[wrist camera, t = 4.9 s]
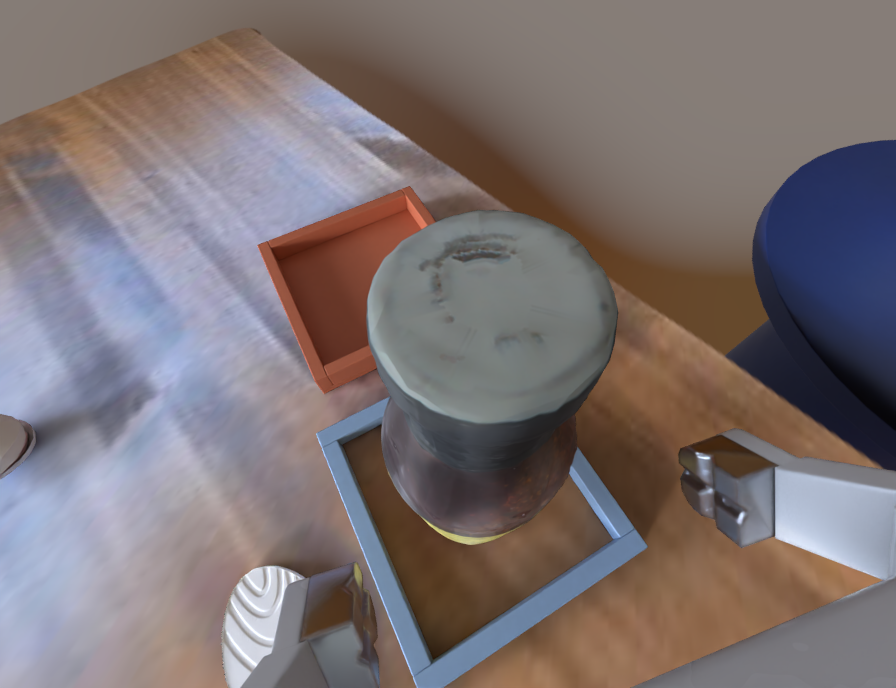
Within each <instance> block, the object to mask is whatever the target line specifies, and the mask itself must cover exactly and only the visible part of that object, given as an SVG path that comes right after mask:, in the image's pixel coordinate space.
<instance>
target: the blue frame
mask: <svg viewBox="0 0 896 688" xmlns="http://www.w3.org/2000/svg"><path fill="white" fill-rule="evenodd" d="M389 399H390V397H388V398H386V399H384V400H382V401H380V402H378V403H376V404H374V405H372V406H370V407H368V408H366V409H364V410H362V411H360V412H358V413H356V414H354V415H352V416H350V417H348V418H346V419H344V420H342V421H340V422H338V423H336V424H334V425H332V426H330V427H328V428H326V429H324V430H322V431H320V432H318V433H316V435H317V438H318V440H319V443H320V445H321V447H322V450H323V453H324V455H325V458H326V460H327V463H328V465H329V468H330V470H331V473H332V475H333V478H334V480H335V483H336V485H337V488H338V490H339V493H340V496H341V498H342V501H343V503H344V506H345V508H346V511H347V513H348V516H349V518H350V521H351V523H352V526H353V528H354V531H355V533H356V536H357V538H358V541H359V543H360V546H361V548H362V551H363V553H364V556H365V558H366V561H367V563H368V566H369V568H370V571H371V573H372V576H373V578H374V581H375V583H376V586H377V588H378V591H379V593H380V596H381V598H382V601H383V603H384V606H385V608H386V611H387V613H388V616H389V618H390V621H391V624H392V626H393V629H394V631H395V634H396V636H397V639H398V641H399V644H400V646H401V649H402V651H403V654H404V656H405V659H406V661H407V664H408V666H409V669H410V671H411V674H412V675H413V676H414V677H413V679H414V681H415V684H416V686H417V688H443V687H445V686H446V685H448V684H449V683H451V682H452V681H453V680H455V679H456V678H458V677H459V676H461V675H462V674H464V673H465V672H467V671H468V670H469V669H471V668H472V667H474V666H475V665H477V664H478V663H480V662H481V661H483V660H484V659H486V658H487V657H488V656H490V655H491V654H493V653H494V652H496V651H497V650H499V649H500V648H502V647H503V646H504V645H506V644H507V643H509V642H510V641H512V640H513V639H515V638H516V637H518V636H519V635H521V634H522V633H523V632H525V631H526V630H528V629H529V628H531V627H532V626H534V625H535V624H537V623H538V622H540V621H541V620H542V619H544V618H545V617H547V616H548V615H550V614H551V613H553V612H554V611H556V610H557V609H558V608H560V607H561V606H563V605H564V604H566V603H567V602H569V601H570V600H572V599H573V598H575V597H576V596H577V595H579V594H580V593H582V592H583V591H585V590H586V589H588V588H589V587H591V586H592V585H593V584H595V583H596V582H598V581H599V580H601V579H602V578H604V577H605V576H607V575H608V574H610V573H611V572H612V571H614V570H615V569H617V568H618V567H620V566H621V565H623V564H624V563H626V562H627V561H628V560H630V559H631V558H633V557H634V556H636V555H637V554H639V553H640V552H642V551H643V550H645V549H646V548H647V547H648V546H647V544H646V543H645V542H644V540H643V539H642V537H641V536H640V534H639V533H638V532H637V530H636V529H634V526H633V525H632V523H631V522H630V520H629V519H628V518H627V516H626V515H625V513H624V512H623V511H622V509H621V508H620V506H619V505H618V503H617V502H616V501H615V499H614V498H613V496H612V495H611V493H610V492H609V491H608V489H607V488H606V486H605V485H604V484H603V482H602V481H601V479H600V478H599V476H598V475H597V474H596V472H595V471H594V469H593V468H592V466H591V465H590V464H589V462H588V461H587V459H586V458H585V457H584V455H583V454H582V452H581V451H580V449H579V448H578V447H577V450H576V453H575V455H574V459H573V463H572V465H571V467H570V472H569V474H570V476H571V477H572V479H573V480H574V482H575V483H576V485H577V486H578V488H579V489H580V491H581V492H582V494H583V495H584V497H585V498H586V500H587V501H588V503H589V504H590V506H591V507H592V509H593V510H594V512H595V513H596V515H597V516H598V518H599V519H600V521H601V522H602V523H603V525H604V526H605V528H606V529H607V531H608V532H609V534H610V535H611V537H612V538H613V539H614V540H613V541H611V542H610V543H608V544H607V545H605V546H604V547H602V548H601V549H599V550H598V551H596V552H595V553H593V554H592V555H590V556H589V557H587V558H586V559H584V560H583V561H581V562H580V563H578V564H577V565H575V566H574V567H572V568H571V569H569V570H568V571H566V572H564V573H563V574H561V575H560V576H558V577H557V578H555V579H554V580H552V581H551V582H549V583H548V584H546V585H545V586H543V587H542V588H540V589H539V590H537V591H536V592H534V593H533V594H531V595H530V596H528V597H527V598H525V599H524V600H522V601H521V602H519V603H518V604H516V605H515V606H513V607H512V608H510V609H509V610H507V611H506V612H504V613H503V614H501V615H500V616H498V617H497V618H495V619H494V620H492V621H491V622H489V623H488V624H486V625H485V626H483V627H482V628H480V629H479V630H477V631H476V632H474V633H473V634H471V635H470V636H468V637H467V638H465V639H464V640H462V641H461V642H459V643H458V644H456V645H455V646H453V647H452V648H450V649H449V650H447V651H446V652H444V653H443V654H441V655H440V656H438V657H437V658H435V659H434V660H433V658H432V656H431V653H430V651H429V649H428V646H427V644H426V641H425V639H424V637H423V634H422V632H421V630H420V627H419V625H418V623H417V620H416V618H415V616H414V613H413V611H412V609H411V606H410V604H409V601H408V599H407V597H406V594H405V592H404V590H403V587H402V585H401V583H400V580H399V578H398V576H397V573H396V571H395V568H394V566H393V564H392V561H391V559H390V557H389V554H388V552H387V550H386V547H385V545H384V543H383V540H382V538H381V535H380V533H379V531H378V528H377V526H376V524H375V521H374V519H373V517H372V514H371V512H370V510H369V507H368V505H367V502H366V500H365V498H364V495H363V493H362V491H361V488H360V486H359V484H358V481H357V479H356V477H355V474H354V472H353V469H352V467H351V465H350V462H349V460H348V458H347V455H346V453H345V451H344V448H343V446H342V444H344V443H346V442H348V441H350V440H352V439H354V438H356V437H358V436H360V435H362V434H364V433H366V432H368V431H370V430H372V429H374V428H375V427H377V426H379V425H381V424H382V420H383V416H384V411H385V408H386V406H387V403H388V401H389Z"/></svg>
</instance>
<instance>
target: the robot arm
mask: <svg viewBox="0 0 896 688" xmlns="http://www.w3.org/2000/svg"><path fill="white" fill-rule="evenodd" d="M678 457H679V464H681V465H682V466H683V467H684V468H685V470H684V472H683V474H682V476H681V478H680V481H681V488H682V492H683V494H684V496H685V498H686V500H687V501H688V503H689V504H690V505H691V506H692V508H693V509H694V510H696V511H697V512H698V513H699V514H700V515H701V516H704V517H708V518H711V519H714V520H715V522H716V526H717V529H718V530H720V531H721V532H722V533H723V534H725V535H726V536H727V537H728V538H730V539H731V540H732V541H733V542H735V543H736V544H737V545H738V546H739V547H741V548H743V547H746V546H749V545H751V544H754V543H757V542H760V541H763V540H765V539H768V538H771V537H774V536H775V538H776V539H779V540H781V541H784V542H787V543H789V544H792V545H794V546H797V547H800V548H802V549H805V550H807V551H810V552H812V553H815V554H818V555H820V556H823V557H825V558H828V559H830V560H833V561H836V562H838V563H841V564H843V565H846V566H849V567H851V568H854V569H856V570H859V571H861V572H864V573H867V574H869V575H872V576H874V577H877V578H879V579H882V580H883V581H880V582H878V583H876V584H873V585H871V586H868V587H866V588H864V589H861V590H859V591H857V592H854V593H852V594H850V595H847V596H845V597H843V598H840V599H838V600H835V601H833V602H831V603H828V604H826V605H824V606H821V607H819V608H817V609H814V610H812V611H810V612H807V613H805V614H803V615H800V616H798V617H796V618H793V619H791V620H789V621H786V622H784V623H782V624H779V625H777V626H775V627H772V628H770V629H768V630H765V631H763V632H761V633H758V634H756V635H753V636H751V637H749V638H746V639H744V640H742V641H739V642H737V643H735V644H732V645H730V646H728V647H725V648H723V649H721V650H718V651H716V652H714V653H711V654H709V655H707V656H704V657H702V658H700V659H697V660H695V661H692V662H690V663H688V664H685V665H683V666H681V667H678V668H676V669H674V670H671V671H669V672H667V673H664V674H662V675H659V676H657V677H655V678H652V679H650V680H648V681H645V682H643V683H641V684H638V685H636V686H634V687H631V688H896V471H890V470H884V469H878V468H872V467H865V466H859V465H853V464H847V463H841V462H835V461H829V460H823V459H817V458H811V457H803V458H798V457H796V456H794V455H792V454H790V453H788V452H786V451H784V450H782V449H780V448H778V447H776V446H774V445H772V444H770V443H768V442H766V441H764V440H762V439H760V438H758V437H756V436H754V435H752V434H750V433H748V432H746V431H744V430H742V429H737V428H733V429H730V430H728V431H725V432H722V433H720V434H717V435H716V436H713V437H710V438H707V439H705V440H702V441H699V442H696V443H693V444H691V445H688V446H685V447H682V448H680V451H679V453H678ZM377 638H378V635H377V622H376V616H375V610H374V606H373V602H372V599H371V596H370V593H369V590H367V589H365V588H363V575H362V572H361V570H360V567H359V565H358V563H356V562H353V563H350V564H347V565H344V566H340V567H337V568H334V569H331V570H328V571H325V572H322V573H319V574H316V575H313V576H311V577H308V578H305V579H302V580H299V581H296V582H293V583H289V585H288V586H287V587H286V589H285V592H284V597H283V601H282V606H281V611H280V615H279V620H278V624H277V629H276V634H275V638H274V643H273V648H272V652H271V654H269V655H266V656H264V657H263V658H262V660H261V661H260V662H259V663H258V665H257V666H256V667H255V669H254V670H253V671H252V673H251V674H250V675H249V677H248V678H247V679H246V681H245V682H244V683H243V685H242V686H241V687H240V688H380V684H379V658H378V655H377V652H376V650H375V647H374V643H375V641H376V640H377Z"/></svg>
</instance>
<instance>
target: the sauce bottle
mask: <svg viewBox="0 0 896 688" xmlns="http://www.w3.org/2000/svg"><path fill="white" fill-rule="evenodd" d="M617 318H618V309H617V304H616V299H615V295H614V291H613V289H612V286H611V284H610V282H609V279H608V278H607V276H606V274H605V272H604V270H603V268H602V267H600V265H598V264H597V263H596V262H595V261H594V260H593V258H592V257H591V255H590V254H589V252H588V251H587V249H586V248H585V247H584V246H582V245H581V244H580V243H579V242H578V241H577V240H576V239H575V238H574V237H573V236H572V235H571V234H569V233H567V232H565V231H564V230H562V229H560V228H558V227H556V226H555V225H553V224H550V223H548V222H545V221H543V220H540V219H538V218H535V217H532V216H529V215H527V214H524V213H518V212H509V211H498V210H488V211H486V210H476V211H471V212H466V213H462V214H459V215H455V216H451V217H447V218H445V219H442V220H440V221H437V222H435V223H433V224H431V225H428V226H426V227H425V228H423V229H421V230H420V231H418V232H416V233H415V234H413V235H411V236H410V237H408V238H406V239H404V240H402V241H401V242H400V243H399V245H398V246H397V247H396V248H395V249H394V250H393V251H392V252H391V253H390V254H389V255H387V256H386V257H385V258H384V259H383V261H382V263H381V265H380V267H379V269H378V270H377V272H376V274H375V275H374V277H373V280H372V284H371V287H370V291H369V295H368V298H367V314H366V324H367V335H368V342H369V346H370V350H371V353H372V355H373V357H374V359H375V362H376V366H377V369H378V373H379V376H380V378H381V379H382V381H383V383H384V384H385V386H386V388H387V390H388V392H389V394H390V395H391V396H390V399H389V401H388V403H387V406H386V408H385V411H384V416H383V420H382V429H381V442H382V452H383V457H384V460H385V464H386V468H387V470H388V473H389V475H390V477H391V479H392V481H393V483H394V486H395V488H396V489H397V491H398V492H399V493H400V495H401V496H402V498H403V499H404V500H405V502H406V503H407V504H408V505H409V506H410V507H411V508H412V509H413V510H414V511H415V512H416V513H417V514H418V515H419V516H420V517H422V518H423V519H424V520H425V521H426V522H427V523H428V524H429V525H430V526H431V527H432V528H433V529H435V530H436V531H437V532H439V533H440V534H442V535H443V536H445V537H447V538H449V539H451V540H453V541H456V542H459V543H464V544H469V545H474V544H481V543H485V542H489V541H492V540H494V539H497V538H499V537H501V536H503V535H505V534H507V533H509V532H511V531H513V530H515V529H517V528H519V527H521V526H522V525H524V524H526V523H527V522H528V521H530V520H531V519H532V518H533V517H535V516H536V515H537V514H538V513H539V512H540V511H541V510H542V508H544V507H545V506H546V504H547V503H548V502H549V501H550V500H551V499H552V498H553V497H554V496H555V495H556V493H557V492H558V490H559V489H560V488H561V487H562V485H563V484H564V482H565V480H566V478H567V477H568V474H569V472H570V467H571V465H572V463H573V459H574V455H575V453H576V450H577V433H576V423H575V422H576V417H575V415H574V414H575V413H576V412H577V411H578V409H579V408H580V407H581V405H582V404H583V402H584V401H585V400H586V399H587V397H588V394H589V393H590V392H591V390H592V389H593V388H594V386H595V385H596V383H597V382H598V380H599V378H600V376H601V374H602V373H603V371H604V369H605V368H606V366H607V364H608V363H609V361H610V358H611V354H612V351H613V347H614V344H615V335H616V326H617Z"/></svg>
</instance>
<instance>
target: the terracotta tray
mask: <svg viewBox="0 0 896 688" xmlns="http://www.w3.org/2000/svg"><path fill="white" fill-rule="evenodd" d="M435 222H436V221H435V220H434V218H433V217H432V215H431V214H430V213H429V211H428V210H427V209H426V207H425V206H424V205H423V203H422V202H421V200H420V199H419V198H418V196H417V195H416V194H415V192H414V191H413V189H412V188H411V187H410V186H409V187H406V188H403V189H402V190H398V191H396V192H393V193H391V194H388V195H385V196H383V197H380V198H378V199H375V200H373V201H370V202H367V203H365V204H362V205H360V206H357V207H355V208H352V209H349V210H347V211H344V212H342V213H339V214H336V215H334V216H331V217H329V218H326V219H324V220H321V221H318V222H316V223H313V224H311V225H308V226H305V227H303V228H300V229H298V230H295V231H293V232H290V233H287V234H285V235H282V236H280V237H277V238H275V239H272V240H269V241H266V242H264V243H261V244H259V245H257V246H258V248H259V251H260V253H261V255H262V258H263V260H264V262H265V265H266V267H267V270H268V272H269V274H270V277H271V279H272V281H273V284H274V286H275V288H276V291H277V293H278V295H279V298H280V300H281V303H282V305H283V307H284V310H285V312H286V314H287V317H288V319H289V321H290V324H291V326H292V328H293V331H294V333H295V336H296V338H297V340H298V343H299V345H300V347H301V350H302V352H303V354H304V357H305V359H306V361H307V364H308V366H309V369H310V371H311V373H312V376H313V378H314V380H315V382H316V383H317V385H318V386H319V388H320V389H321V390H322V392H323V393H324V394H325V393H327V392H329V391H331V390H333V389H335V388H337V387H339V386H341V385H343V384H346V383H348V382H350V381H352V380H354V379H356V378H358V377H360V376H362V375H364V374H366V373H368V372H370V371H373V370H375V369H377V366H376V362H375V359H374V357H373V355H372V353H371V350H370V346H369V342H368V335H367V324H366V314H367V298H368V295H369V291H370V287H371V284H372V280H373V277H374V275H375V274H376V272H377V270H378V269H379V267H380V265H381V263H382V261H383V259H384V258H385V257H386V256H387V255H389V254H390V253H391V252H392V251H393V250H394V249H395V248H396V247H397V246H398V245H399V243H400V242H401V241H402V240H404V239H406V238H408V237H410V236H411V235H413V234H415V233H416V232H418V231H420V230H421V229H423V228H425V227H426V226H428V225H431V224H433V223H435Z"/></svg>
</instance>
